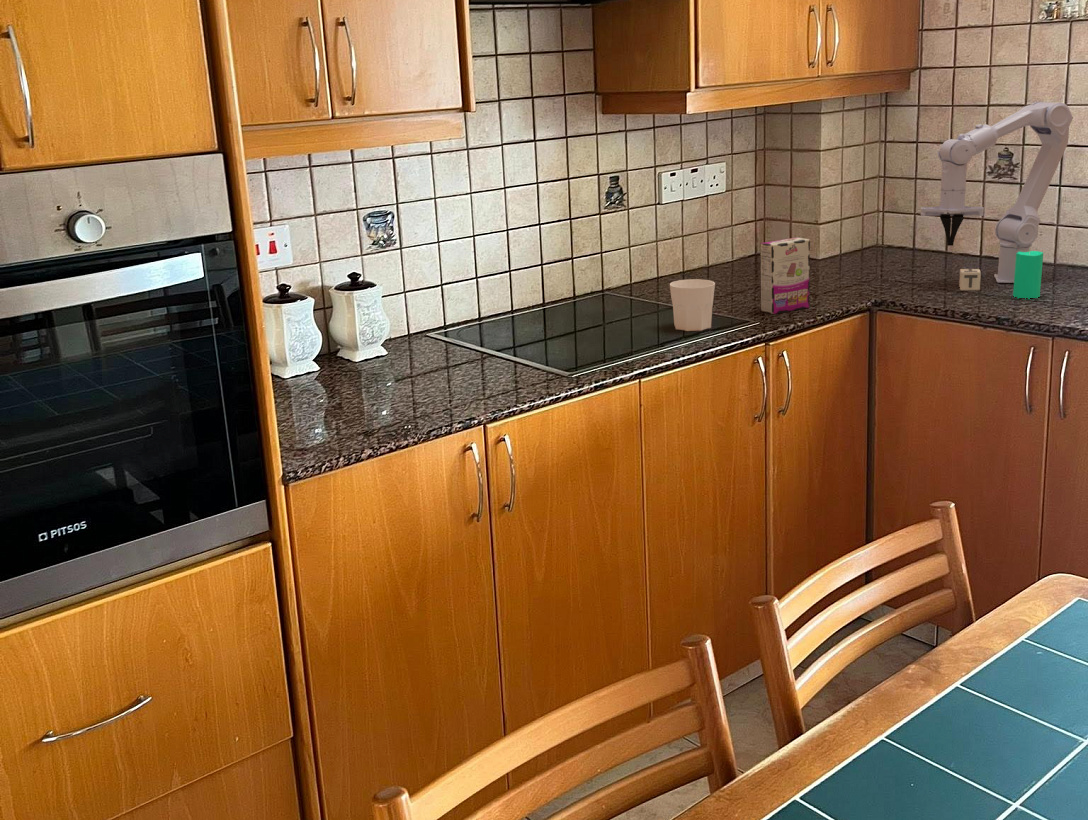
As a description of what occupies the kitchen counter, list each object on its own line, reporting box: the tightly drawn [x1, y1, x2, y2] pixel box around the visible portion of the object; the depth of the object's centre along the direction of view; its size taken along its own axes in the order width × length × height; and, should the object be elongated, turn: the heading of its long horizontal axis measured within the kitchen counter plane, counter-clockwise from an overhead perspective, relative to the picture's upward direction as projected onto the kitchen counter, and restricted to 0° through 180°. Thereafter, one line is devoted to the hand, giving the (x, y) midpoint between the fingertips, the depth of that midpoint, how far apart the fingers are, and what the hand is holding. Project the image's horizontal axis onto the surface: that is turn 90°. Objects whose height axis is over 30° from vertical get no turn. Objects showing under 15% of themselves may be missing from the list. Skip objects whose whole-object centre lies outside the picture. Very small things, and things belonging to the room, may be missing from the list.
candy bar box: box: [759, 236, 811, 315], centre depth 273 cm, size 11×5×16 cm, turn 117°
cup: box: [669, 278, 716, 332], centre depth 261 cm, size 10×10×10 cm
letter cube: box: [958, 268, 982, 291], centre depth 288 cm, size 5×4×5 cm
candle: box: [1012, 246, 1044, 300], centre depth 275 cm, size 6×6×12 cm
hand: (950, 245), depth 289 cm, fingers closed
